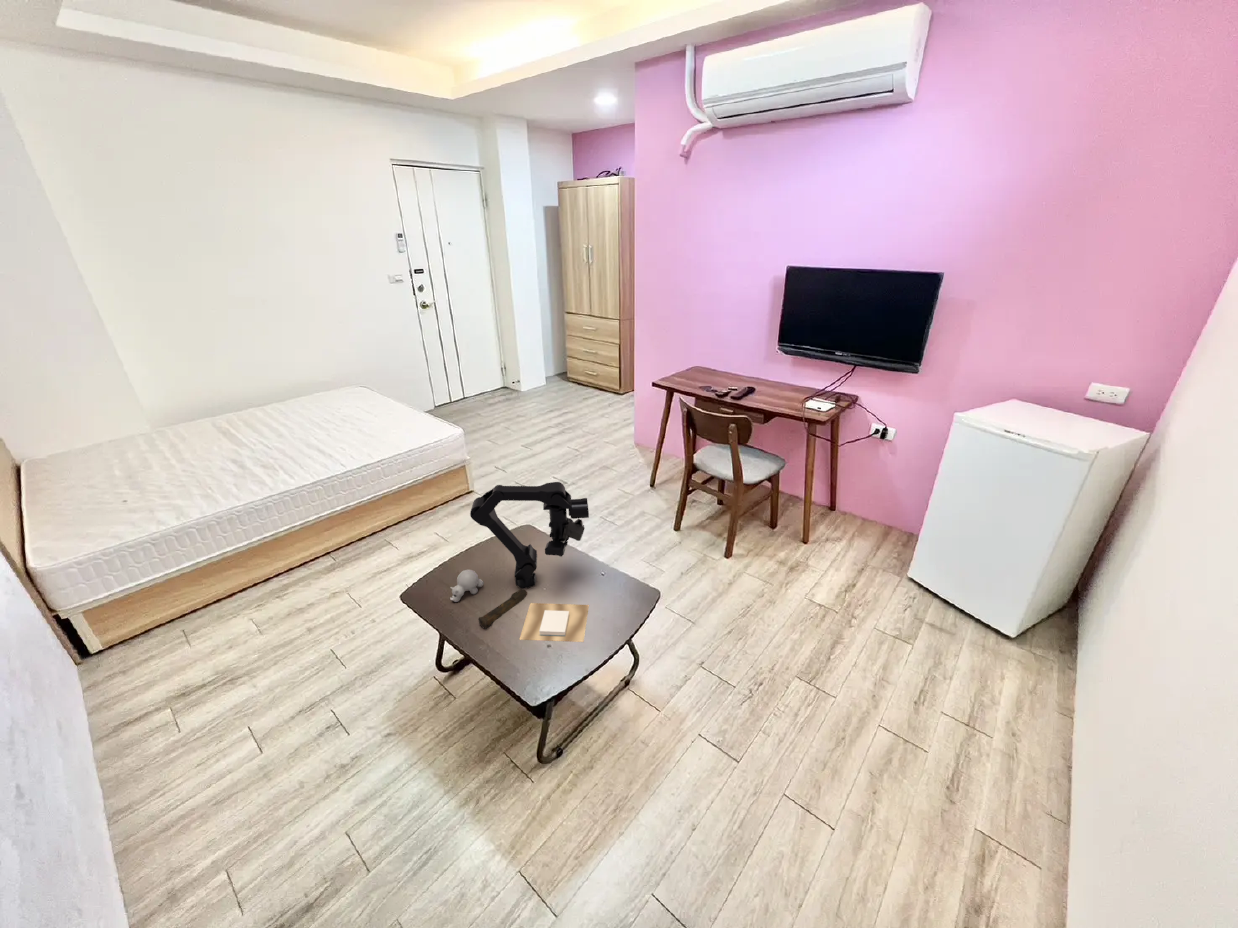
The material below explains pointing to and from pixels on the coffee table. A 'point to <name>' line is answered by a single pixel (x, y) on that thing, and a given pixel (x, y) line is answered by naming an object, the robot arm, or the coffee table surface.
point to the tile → (554, 623)
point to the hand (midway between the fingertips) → (561, 555)
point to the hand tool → (502, 608)
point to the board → (574, 625)
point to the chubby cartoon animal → (466, 584)
